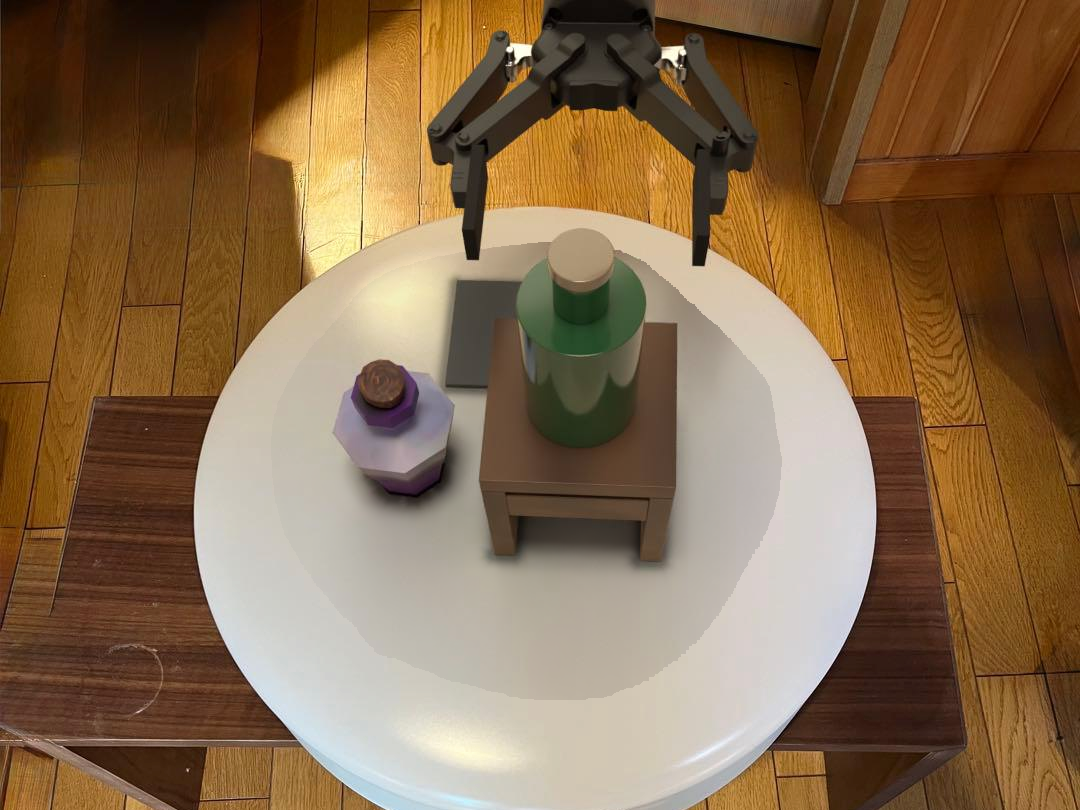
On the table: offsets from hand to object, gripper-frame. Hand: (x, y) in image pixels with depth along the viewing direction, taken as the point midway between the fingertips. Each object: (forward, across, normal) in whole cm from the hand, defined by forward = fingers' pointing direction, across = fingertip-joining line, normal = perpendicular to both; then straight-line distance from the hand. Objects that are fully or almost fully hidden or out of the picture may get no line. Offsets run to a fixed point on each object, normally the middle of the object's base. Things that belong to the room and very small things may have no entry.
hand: (584, 248), depth 57 cm
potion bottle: (+5, +13, -19) cm, 24 cm away
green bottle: (+6, 0, -7) cm, 9 cm away
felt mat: (-7, +6, -19) cm, 21 cm away
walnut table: (+6, 0, -19) cm, 20 cm away
